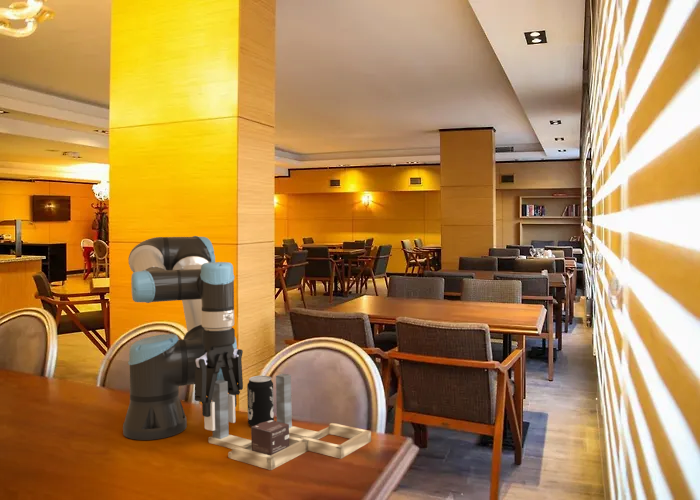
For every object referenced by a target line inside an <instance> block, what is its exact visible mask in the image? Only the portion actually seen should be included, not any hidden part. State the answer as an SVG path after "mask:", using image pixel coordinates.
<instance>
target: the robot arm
mask: <svg viewBox="0 0 700 500" xmlns="http://www.w3.org/2000/svg"><path fill="white" fill-rule="evenodd" d="M128 265H129V268H130V270H131V271H132V274H131V279H130V280H131V282H130V284H131V299H132V301H134V303H147V304H149V303H156V302H157V303H159V302H160V303H161V302H174V301H181V303H182V307H183V313H184V319H185V320H184V321H185V327H186V330H187V332H186V333H185V334H184V336H183V339H179V337H178V335H177V334H175V333H168V334H158V335H152V336H148V337H145V338H142V339H139V340H136V341H135V342H133V343H132V344H131V345H130V347H129V350H128V351H129V352H128V363H127V364H128V365H129V405H128V408H127V412H126V415H125V418H124V422H123V425H122V431H123V432H122V434H123V436H124V437H125V438H127V439H131V440H136V441H137V440H138V441H150V440H159V439H166V438H169V437H174V436H177V435H178V434H180V433H182V432H183V431H185V430H186V429H187V427H188V425H187V424H188V423H187V422H188V421H187V416H186V414H185V409H184V407H183V405H182V402H181V399H180V395H179V393H180V389H179V388H180V387H181V386H191V385H193V386H194V401H197V402H200V403H201V406H202V407H201V408H202V409H201V410H202V411H201V412H202V413H201V415H202V417H203V418H204V422H203V423H204V430H207V431H212V432H213V431H214V430H215V402H212V397H213V392H214V387H215V382H216V381H218V380H223V381H228V423H232V424H235V423H236V407H237V405H238V404H237V403H238V401H237V396H239V395H240V394H241V391H242V390H243V389H244V379H243V377H244V376H243V364H242V363H243V362H242V359H243V353H244V352H243V351H244V350H243V349H239V348H238V345H237V338H236V336H235V335H236V333H235V331H236V330H235V329H234V326H235V291H234V290H235V286H234V285H235V284H234V283H235V275H234V274H235V273H234V265H233V263H231V262H227V261H218V262H217V261H216V255H215V249H214V245H213V244H212V241H211V240H210V239H209V238H208V237H206V236H197V235H194V236H165V237H164V236H157V237H151V238H148V239H146V240H143V241H141V242H140V243H137V245H135V246H134V247H133V248H132V249H131V251H130V253H129V255H128Z"/></svg>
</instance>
